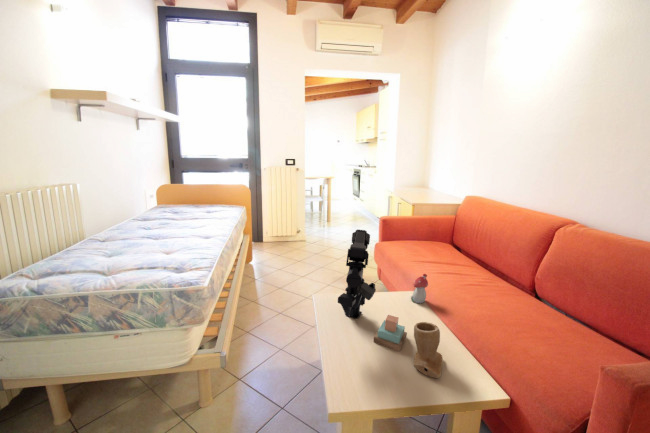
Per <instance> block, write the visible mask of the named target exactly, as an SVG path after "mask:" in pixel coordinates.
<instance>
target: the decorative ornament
mask: <svg viewBox="0 0 650 433" xmlns="http://www.w3.org/2000/svg"><path fill="white" fill-rule="evenodd" d="M427 277H428V275H427V274H426V273H423V274H422V276H418V277H416V278H415V279H414V282H413V284H412V285H413V287H414V290H413V292H412V295H411V296H410V300H411V301H412V303H415V304H422V303H424V302H425V301H426V299H427V291H426V289H425V288H427V287H428V286H429V282H428V279H427Z"/></svg>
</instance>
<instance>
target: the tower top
mask: <svg viewBox="0 0 650 433" xmlns="http://www.w3.org/2000/svg"><path fill="white" fill-rule="evenodd" d="M385 321H386V319H384V320H383V322H382V323H381V325H380V326H379V328H378V330H377V332H378V335H377V337H379V338H382V339H385V340H388V341H391V342H394V343H397V344H399V342H400V340H401V338H402V336H403V334H404V332H405V328H406V326H403V325H400V324H398V326H397V329H396V332H392V331H388V330H385Z"/></svg>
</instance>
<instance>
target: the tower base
mask: <svg viewBox="0 0 650 433" xmlns="http://www.w3.org/2000/svg"><path fill="white" fill-rule="evenodd" d="M377 335H378V331H377V332H376V333H375V335H374V337H373V343H376V344H378V345H381V346H385V347H387V348H390V349H392V350H394V351H398V352H401V350H402V348H403V345H404V344H405V341H406V340H407V335H408V332H406V331H404V334H403V336H402V338H401V340H400V342H399V344H397V343H394V342H391V341H388V340H385V339H382V338H379V337H377Z"/></svg>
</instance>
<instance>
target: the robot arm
mask: <svg viewBox="0 0 650 433" xmlns="http://www.w3.org/2000/svg"><path fill="white" fill-rule="evenodd" d="M367 231H368V230H366V229H355V231H354V232H352V234H351V244H350V247H349V248H347V249H348V250H347V257H346V264H345V266H346V267H348V271H347V274H346V275H347V276H346V284H347V286H346V288H345V292H343V293H342V294H340V295H339V296H338V297H337V303H338V304H340V306H341V307H342V310H343V313H344V314H345V317H347V318H349V317H351V318H354V319H359V317H360V316H361V315H362V314H363V312H362V311H361V307H363V306H364V305H365V304H366V300H367V301H371V299H372V298H373V296H374V295H375V293H376V292H377V290H376V289H377V288H376V283H374V282H371V283H367V282H365V278H363V276H364V275H363V274H364V269H367V268H366V267H367V266H369V265H368V264H369V252H368V250H367V249H368V246H369V245H370V240H371V234H369V233H368V232H367Z"/></svg>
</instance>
